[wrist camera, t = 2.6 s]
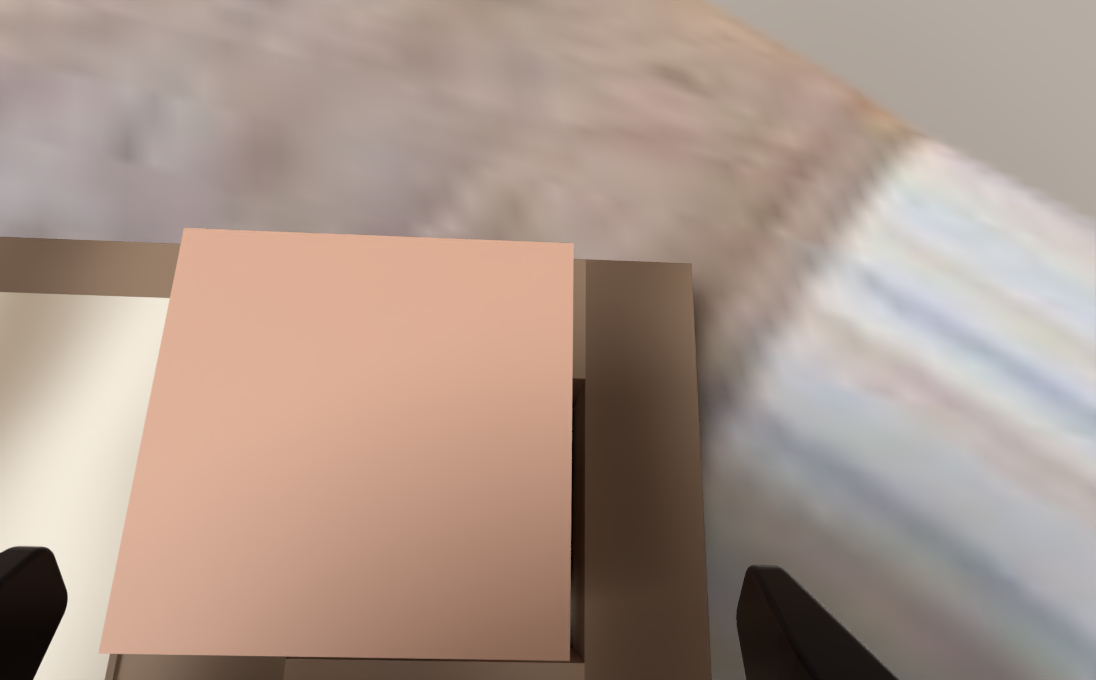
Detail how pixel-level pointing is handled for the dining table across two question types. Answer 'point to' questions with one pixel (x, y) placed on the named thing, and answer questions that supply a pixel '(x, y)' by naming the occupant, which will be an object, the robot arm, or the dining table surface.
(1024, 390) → the dining table surface
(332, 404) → the terracotta peg
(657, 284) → the walnut pocket board
